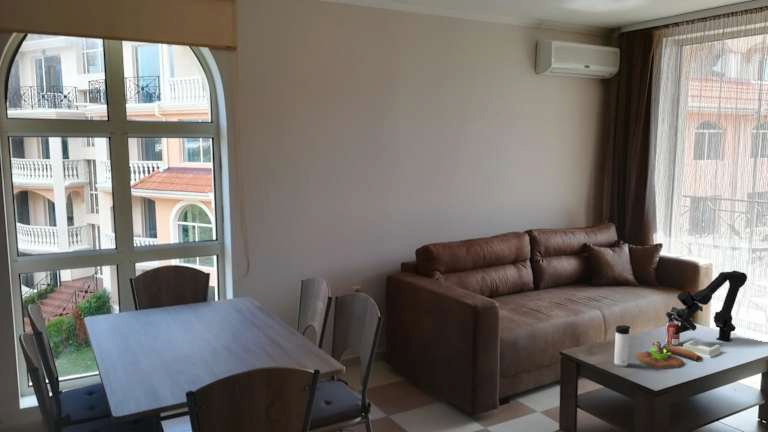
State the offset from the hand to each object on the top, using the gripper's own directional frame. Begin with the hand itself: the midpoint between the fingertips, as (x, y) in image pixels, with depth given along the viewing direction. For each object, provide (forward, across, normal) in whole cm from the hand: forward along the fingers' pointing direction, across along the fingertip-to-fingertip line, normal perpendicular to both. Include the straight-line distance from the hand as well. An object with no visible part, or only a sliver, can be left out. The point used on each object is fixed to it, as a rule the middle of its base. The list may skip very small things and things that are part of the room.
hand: (670, 332), depth 318 cm
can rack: (-2, +13, +11) cm, 17 cm away
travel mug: (+36, +22, -26) cm, 49 cm away
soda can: (+4, 0, +6) cm, 7 cm away
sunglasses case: (+8, +16, +2) cm, 18 cm away
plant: (+21, +22, -11) cm, 32 cm away
